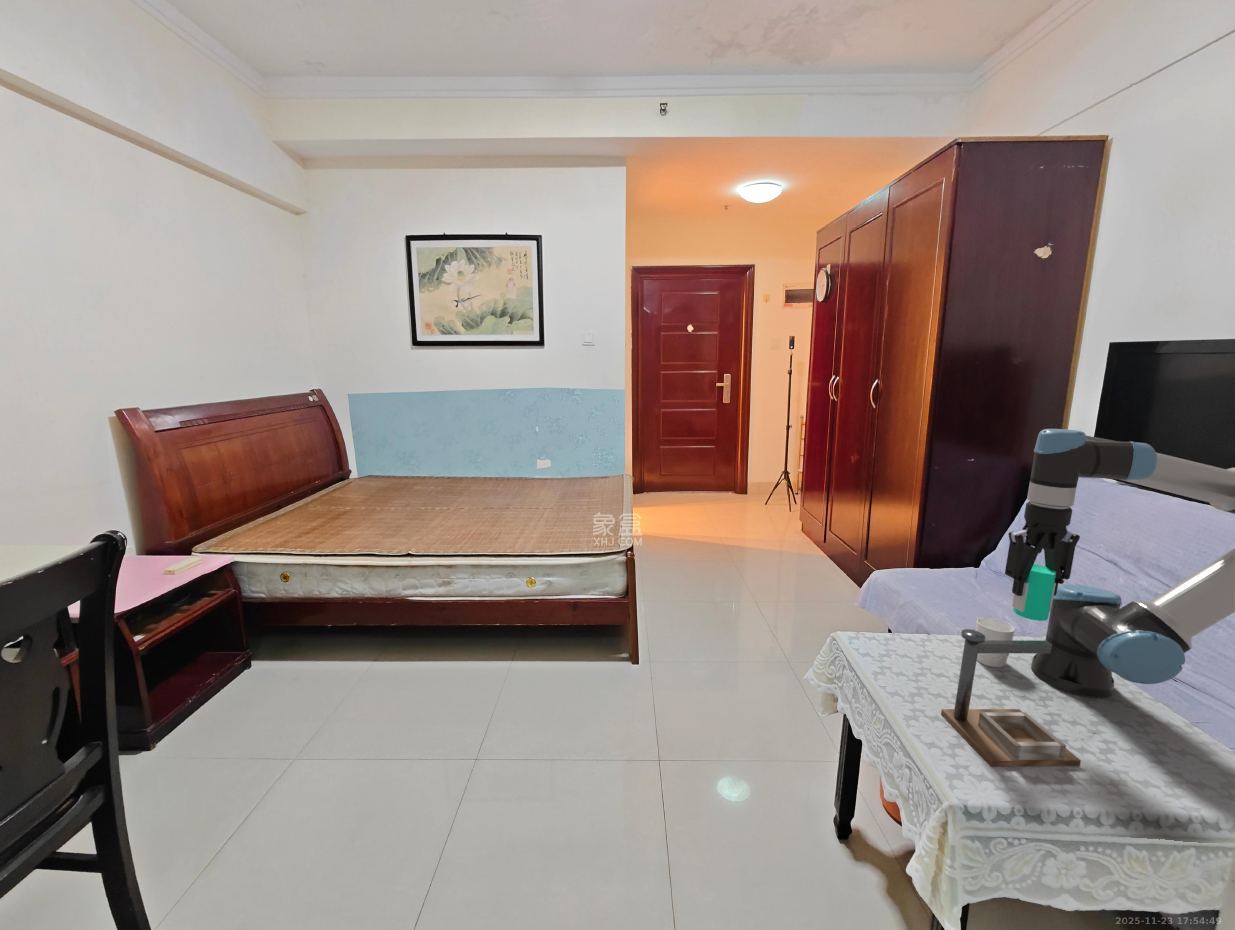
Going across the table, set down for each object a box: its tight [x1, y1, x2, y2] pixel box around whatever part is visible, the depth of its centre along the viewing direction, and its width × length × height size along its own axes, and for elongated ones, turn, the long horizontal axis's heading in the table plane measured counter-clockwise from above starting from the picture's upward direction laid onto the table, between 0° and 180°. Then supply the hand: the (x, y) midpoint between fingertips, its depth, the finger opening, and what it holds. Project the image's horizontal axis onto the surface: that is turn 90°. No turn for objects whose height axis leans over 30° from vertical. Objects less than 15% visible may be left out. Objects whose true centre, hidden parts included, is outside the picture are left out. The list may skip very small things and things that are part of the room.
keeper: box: [953, 628, 1052, 721], centre depth 109 cm, size 18×4×19 cm, turn 91°
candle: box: [1012, 560, 1056, 622], centre depth 113 cm, size 6×6×12 cm
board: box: [940, 708, 1082, 767], centre depth 106 cm, size 17×15×4 cm
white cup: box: [975, 616, 1016, 669], centre depth 134 cm, size 8×8×10 cm
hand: (1031, 608), depth 114 cm, fingers closed on candle, 5 cm apart
